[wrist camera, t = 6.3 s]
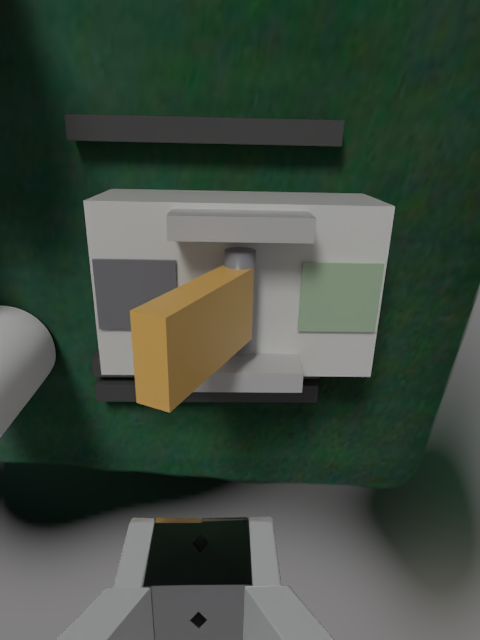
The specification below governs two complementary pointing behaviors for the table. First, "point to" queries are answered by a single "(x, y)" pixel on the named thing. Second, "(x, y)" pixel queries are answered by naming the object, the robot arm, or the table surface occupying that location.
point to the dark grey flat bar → (124, 391)
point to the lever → (193, 331)
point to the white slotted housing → (270, 275)
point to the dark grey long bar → (203, 130)
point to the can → (21, 361)
